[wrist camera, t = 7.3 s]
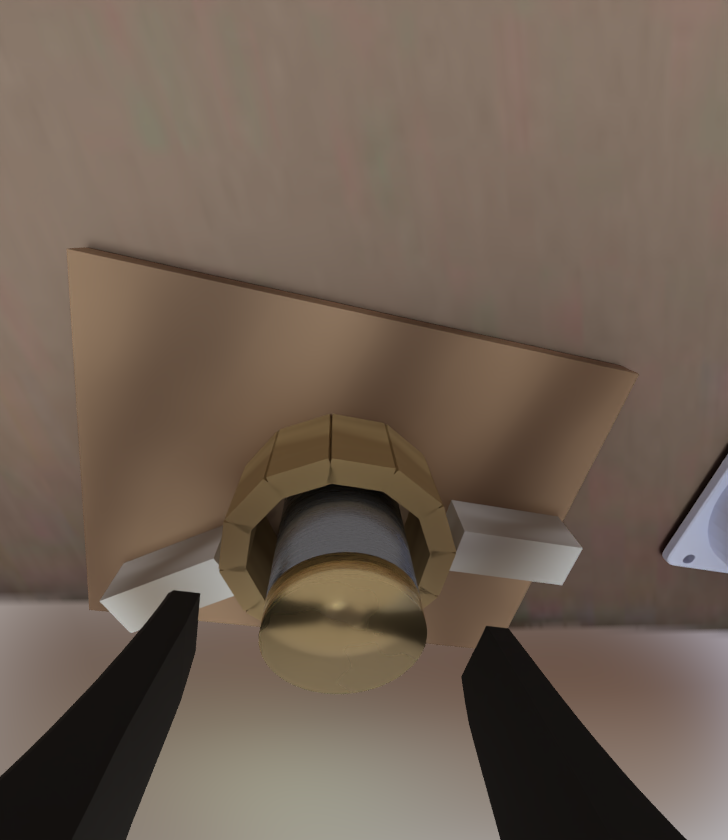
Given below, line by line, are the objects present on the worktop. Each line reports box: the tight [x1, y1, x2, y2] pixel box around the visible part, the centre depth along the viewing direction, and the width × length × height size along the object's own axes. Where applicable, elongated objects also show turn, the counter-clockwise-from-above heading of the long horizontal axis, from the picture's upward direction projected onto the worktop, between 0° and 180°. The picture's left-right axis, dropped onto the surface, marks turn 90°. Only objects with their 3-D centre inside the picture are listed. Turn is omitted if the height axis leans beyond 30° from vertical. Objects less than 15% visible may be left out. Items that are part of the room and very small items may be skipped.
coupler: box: [259, 484, 427, 694], centre depth 12 cm, size 4×4×6 cm
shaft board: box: [67, 248, 639, 648], centre depth 14 cm, size 18×14×4 cm
